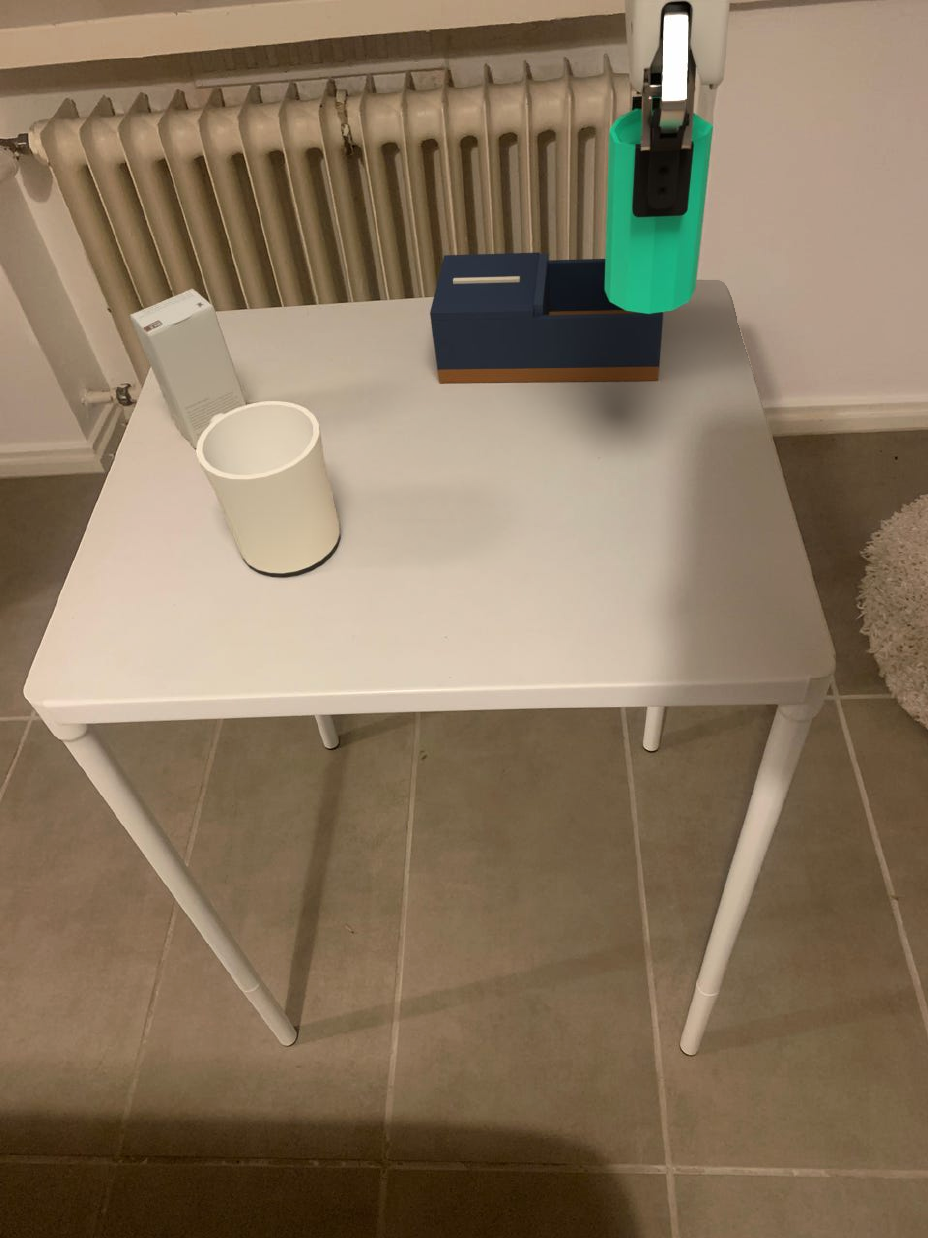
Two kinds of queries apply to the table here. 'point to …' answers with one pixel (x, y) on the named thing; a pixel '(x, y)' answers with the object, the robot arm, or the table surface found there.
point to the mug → (272, 485)
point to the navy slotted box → (537, 323)
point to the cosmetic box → (189, 361)
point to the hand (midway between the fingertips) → (657, 184)
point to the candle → (651, 228)
